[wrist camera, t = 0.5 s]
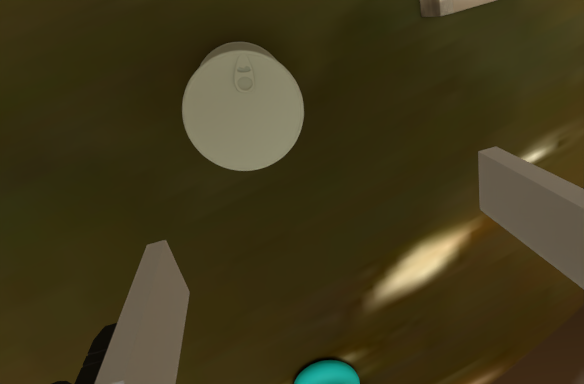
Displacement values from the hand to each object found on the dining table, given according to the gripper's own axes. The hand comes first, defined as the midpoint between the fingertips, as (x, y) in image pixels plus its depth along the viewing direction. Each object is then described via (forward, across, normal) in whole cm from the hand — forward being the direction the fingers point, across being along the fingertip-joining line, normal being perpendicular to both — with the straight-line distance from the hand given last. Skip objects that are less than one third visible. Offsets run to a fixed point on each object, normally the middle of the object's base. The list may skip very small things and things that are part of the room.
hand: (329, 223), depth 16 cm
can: (+27, -3, +2) cm, 27 cm away
